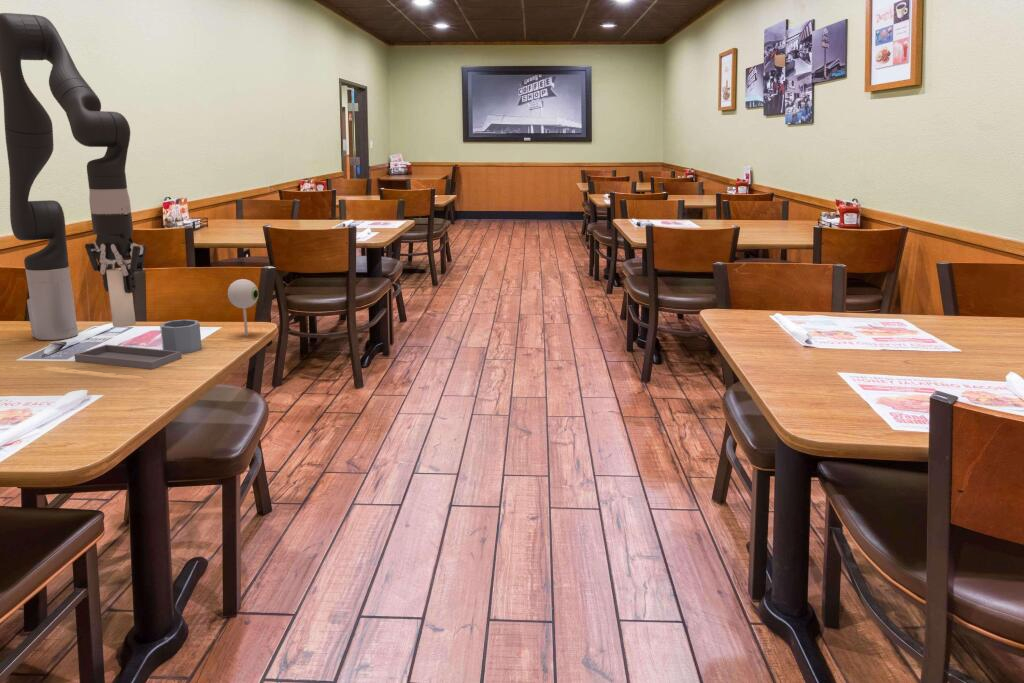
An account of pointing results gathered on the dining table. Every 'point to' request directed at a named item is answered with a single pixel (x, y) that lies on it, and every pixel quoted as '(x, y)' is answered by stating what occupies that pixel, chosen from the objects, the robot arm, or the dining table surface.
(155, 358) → the tray
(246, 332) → the lollipop
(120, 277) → the peg
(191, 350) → the grey octagonal collar
